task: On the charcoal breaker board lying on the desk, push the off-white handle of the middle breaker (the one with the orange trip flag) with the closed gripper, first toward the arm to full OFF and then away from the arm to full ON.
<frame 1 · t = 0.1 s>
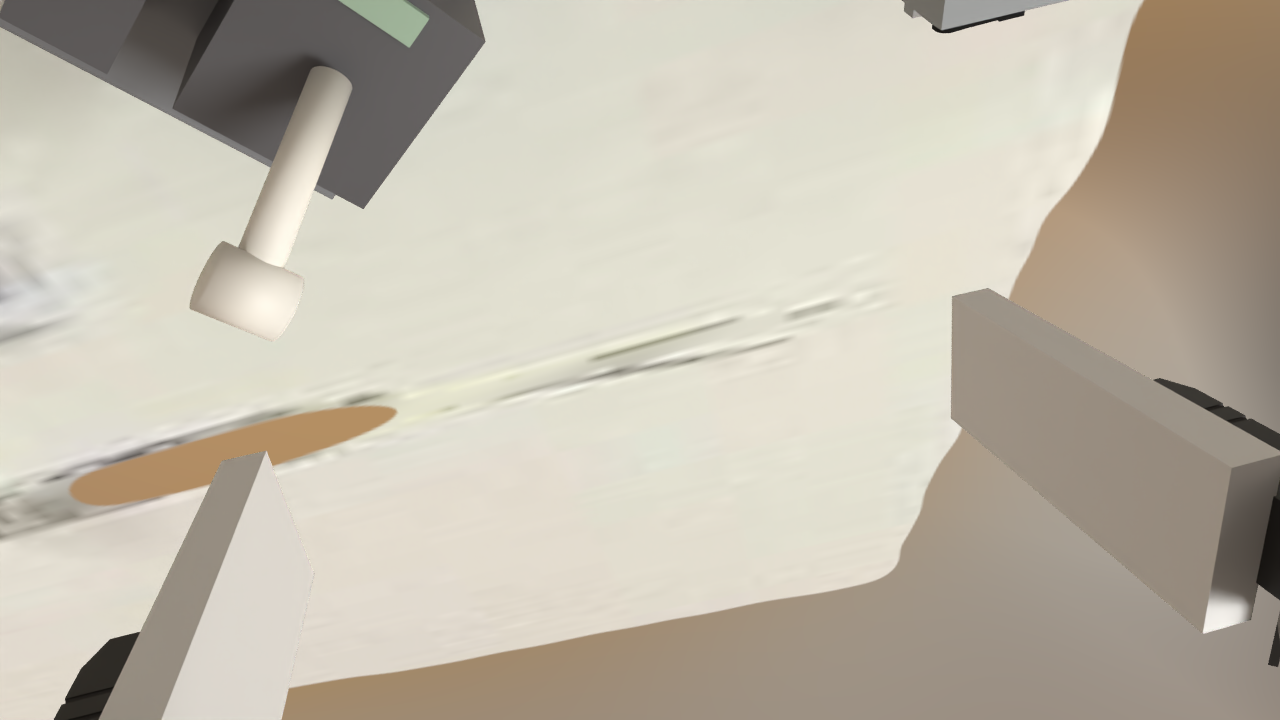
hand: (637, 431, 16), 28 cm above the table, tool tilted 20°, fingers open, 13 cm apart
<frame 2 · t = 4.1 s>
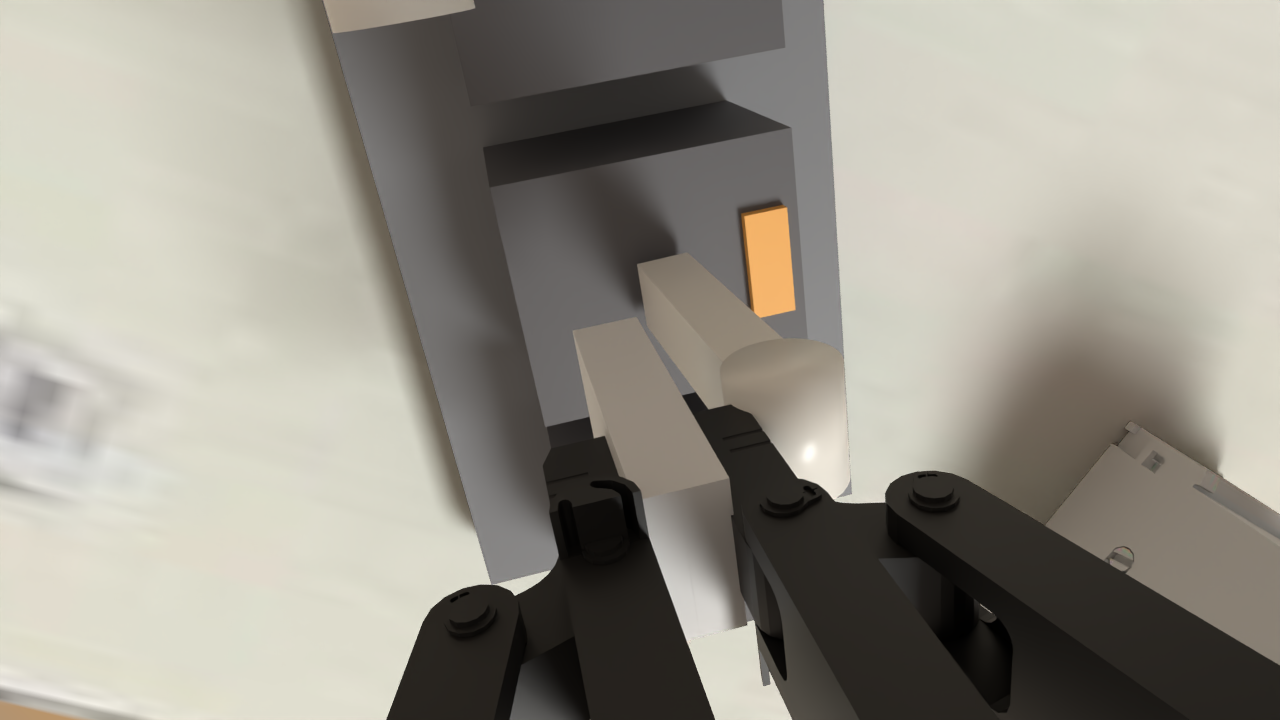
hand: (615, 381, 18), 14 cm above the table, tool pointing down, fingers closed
tripped handle: (723, 352, 19), point 14 cm above the table, hinge at -3.3°, touching gripper
breaker board: (609, 207, 31), on the table
circuit breaker: (1082, 558, 44), on the table
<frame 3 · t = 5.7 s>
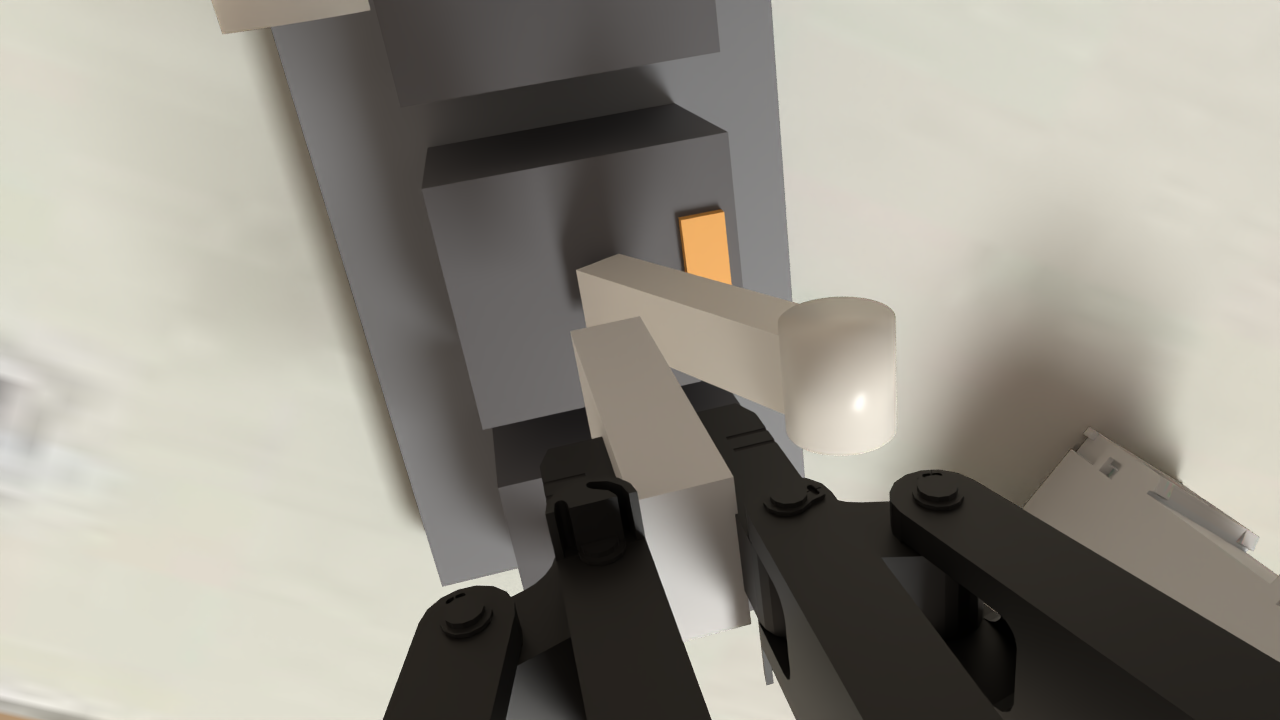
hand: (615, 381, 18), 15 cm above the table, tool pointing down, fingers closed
tripped handle: (719, 333, 19), point 14 cm above the table, hinge at -26.8°
breaker board: (562, 209, 31), on the table
circuit breaker: (1042, 563, 44), on the table
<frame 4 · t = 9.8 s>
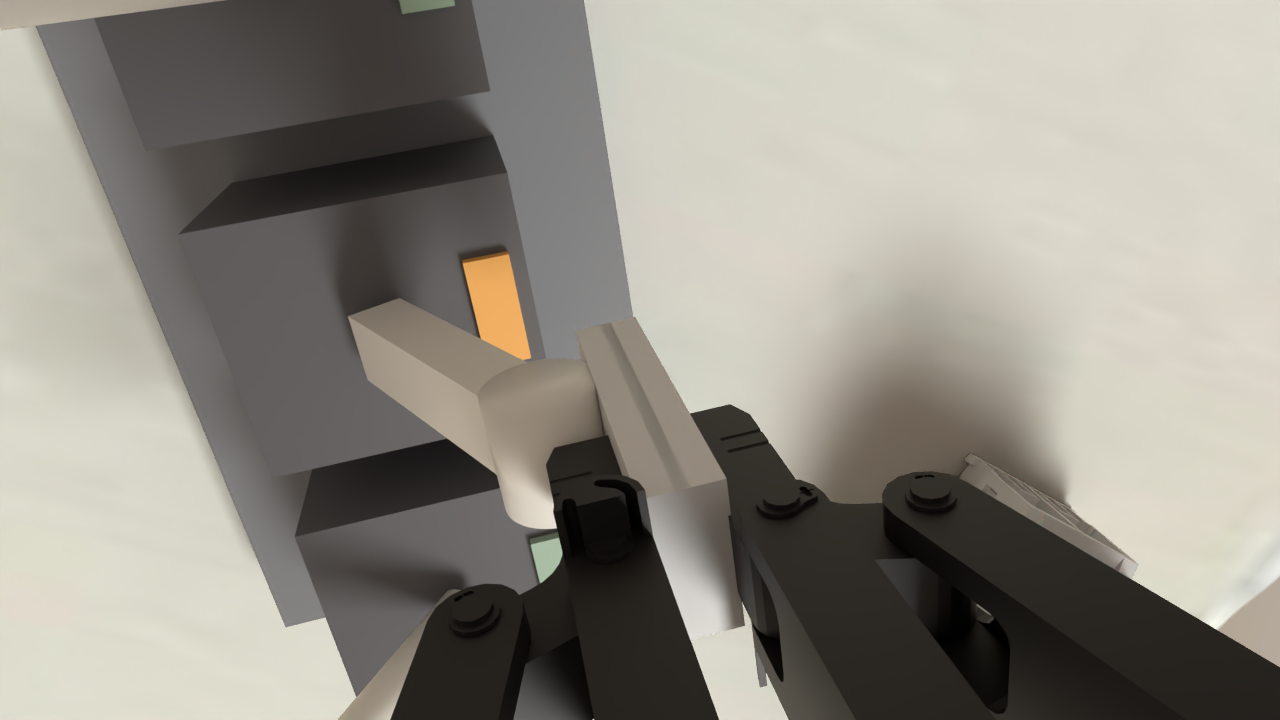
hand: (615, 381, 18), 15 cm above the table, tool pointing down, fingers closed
tripped handle: (465, 389, 19), point 14 cm above the table, hinge at -26.0°, touching gripper
breaker board: (398, 240, 31), on the table
circuit breaker: (931, 589, 43), on the table
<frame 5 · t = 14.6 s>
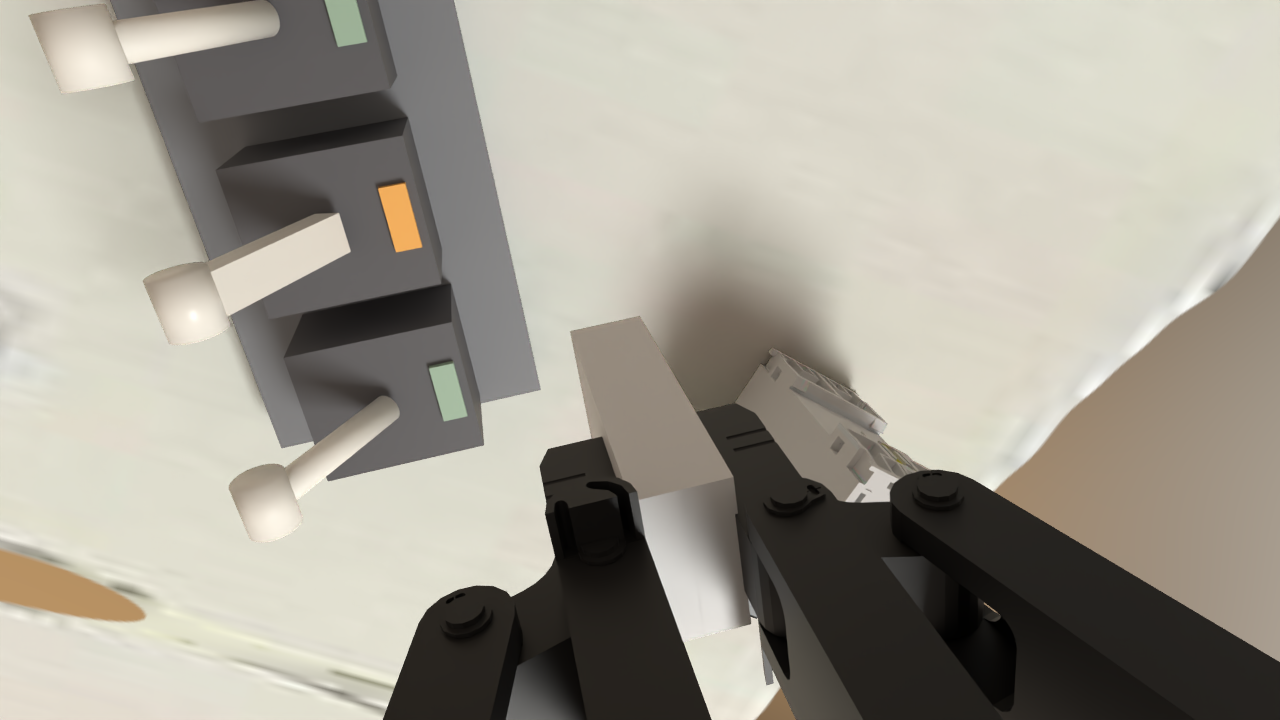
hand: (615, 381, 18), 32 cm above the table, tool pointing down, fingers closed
tripped handle: (257, 269, 34), point 13 cm above the table, hinge at 34.3°
breaker board: (353, 187, 47), on the table
circuit breaker: (755, 453, 59), on the table
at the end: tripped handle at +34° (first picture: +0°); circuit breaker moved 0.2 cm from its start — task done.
